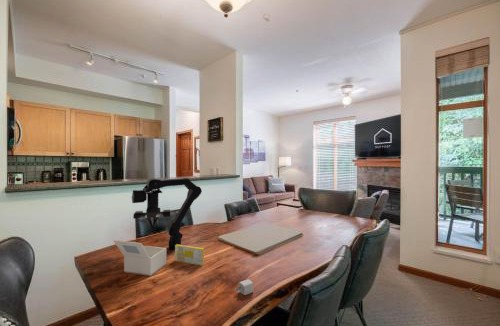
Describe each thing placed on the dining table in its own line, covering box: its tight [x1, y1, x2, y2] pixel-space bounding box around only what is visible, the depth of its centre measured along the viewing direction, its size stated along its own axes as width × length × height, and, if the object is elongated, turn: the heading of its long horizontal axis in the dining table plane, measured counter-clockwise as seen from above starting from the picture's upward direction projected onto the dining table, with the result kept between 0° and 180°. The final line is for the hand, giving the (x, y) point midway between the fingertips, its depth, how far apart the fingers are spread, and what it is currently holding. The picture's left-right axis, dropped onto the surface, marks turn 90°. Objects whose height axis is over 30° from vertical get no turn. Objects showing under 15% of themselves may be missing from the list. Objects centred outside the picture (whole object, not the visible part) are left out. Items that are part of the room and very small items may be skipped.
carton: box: [123, 245, 167, 277], centre depth 110 cm, size 12×14×8 cm
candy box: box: [174, 244, 205, 267], centre depth 116 cm, size 16×2×8 cm, turn 71°
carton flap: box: [112, 239, 150, 259], centre depth 101 cm, size 11×14×1 cm
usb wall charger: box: [235, 278, 255, 296], centre depth 91 cm, size 4×7×4 cm, turn 126°
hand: (152, 229), depth 128 cm, fingers closed
